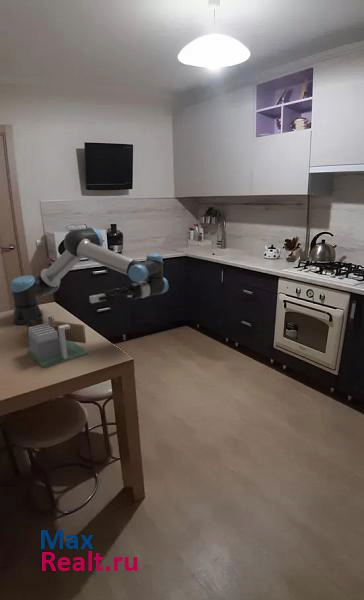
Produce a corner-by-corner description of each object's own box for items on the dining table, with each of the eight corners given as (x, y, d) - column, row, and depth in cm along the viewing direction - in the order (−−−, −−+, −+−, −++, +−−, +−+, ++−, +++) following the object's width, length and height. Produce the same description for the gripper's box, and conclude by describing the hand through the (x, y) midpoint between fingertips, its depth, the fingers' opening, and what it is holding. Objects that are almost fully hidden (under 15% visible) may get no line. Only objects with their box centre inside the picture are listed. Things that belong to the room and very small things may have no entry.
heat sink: (27, 351, 154) (23, 320, 150) (70, 340, 166) (66, 310, 161) (42, 367, 139) (37, 333, 135) (88, 354, 151) (85, 322, 146)
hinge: (50, 343, 158) (46, 318, 155) (53, 341, 160) (50, 316, 157) (84, 349, 152) (81, 323, 148) (87, 347, 154) (85, 321, 150)
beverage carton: (44, 329, 179) (43, 317, 177) (49, 343, 163) (47, 330, 161) (27, 332, 176) (26, 320, 174) (30, 347, 159) (28, 333, 157)
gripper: (146, 301, 161) (98, 312, 147) (131, 294, 171) (84, 304, 157) (145, 285, 159) (97, 294, 145) (130, 279, 169) (83, 288, 155)
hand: (90, 299), depth 151 cm, fingers closed
